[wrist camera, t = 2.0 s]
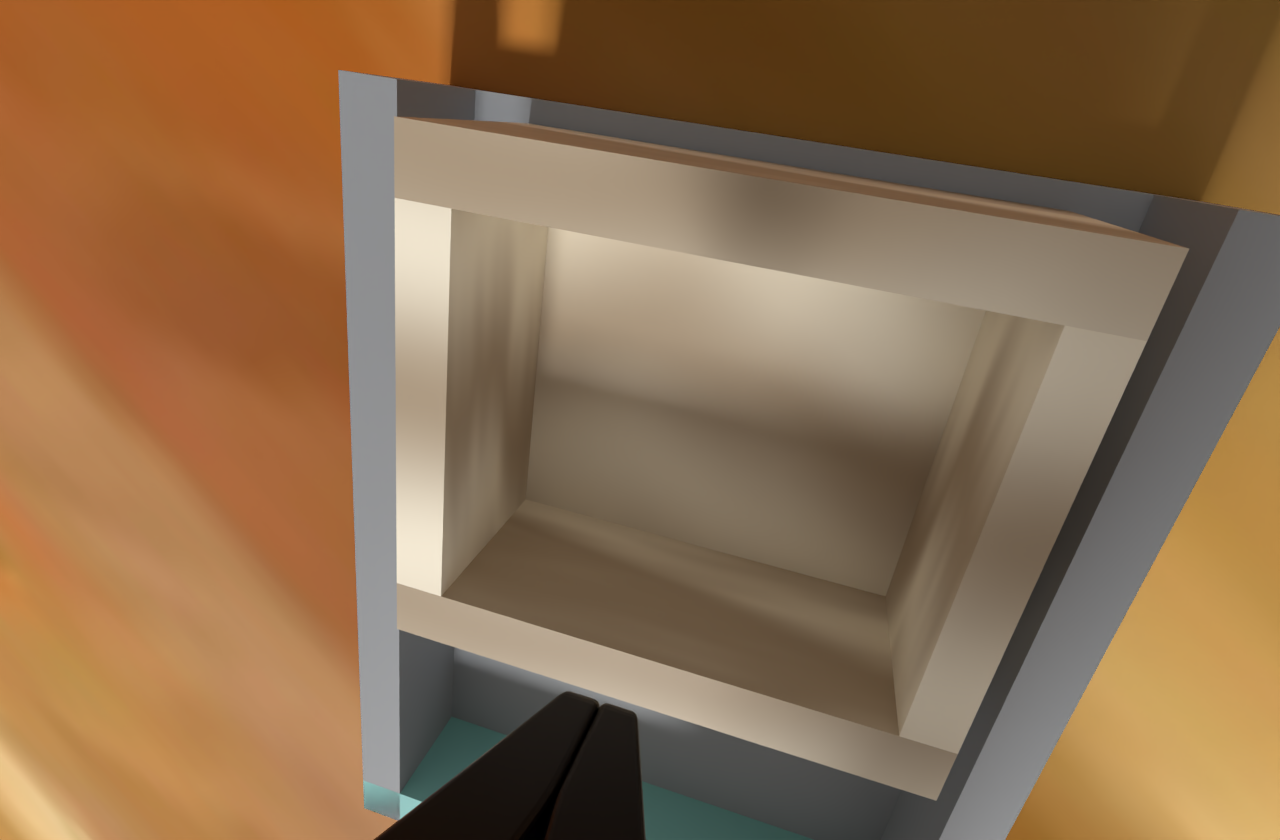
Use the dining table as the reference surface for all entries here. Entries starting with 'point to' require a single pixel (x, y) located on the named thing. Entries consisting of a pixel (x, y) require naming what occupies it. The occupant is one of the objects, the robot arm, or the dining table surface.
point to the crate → (744, 427)
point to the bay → (727, 765)
